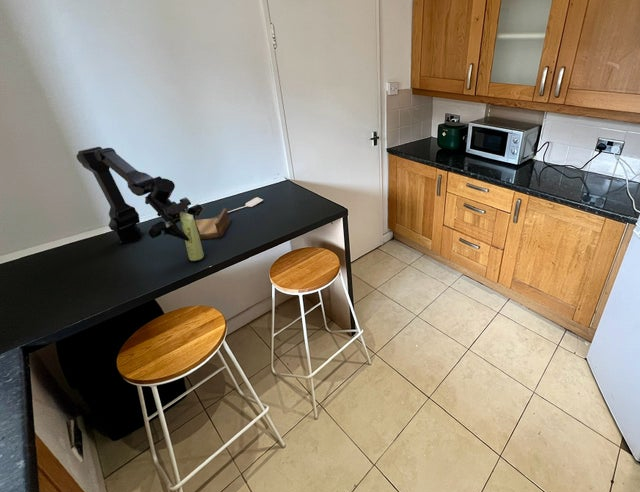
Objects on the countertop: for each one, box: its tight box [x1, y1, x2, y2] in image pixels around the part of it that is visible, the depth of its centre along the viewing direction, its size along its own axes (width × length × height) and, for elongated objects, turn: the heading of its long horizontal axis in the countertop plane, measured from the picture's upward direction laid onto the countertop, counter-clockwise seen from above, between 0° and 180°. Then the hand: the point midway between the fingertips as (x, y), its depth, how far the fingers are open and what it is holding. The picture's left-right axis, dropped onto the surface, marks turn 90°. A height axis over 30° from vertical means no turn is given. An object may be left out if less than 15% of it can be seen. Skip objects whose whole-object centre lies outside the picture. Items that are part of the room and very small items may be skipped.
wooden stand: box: [195, 207, 231, 240], centre depth 138 cm, size 14×14×7 cm
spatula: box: [210, 196, 264, 219], centre depth 156 cm, size 6×29×2 cm, turn 145°
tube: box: [180, 211, 205, 262], centre depth 117 cm, size 6×5×20 cm
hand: (193, 237), depth 116 cm, fingers closed on tube, 4 cm apart
